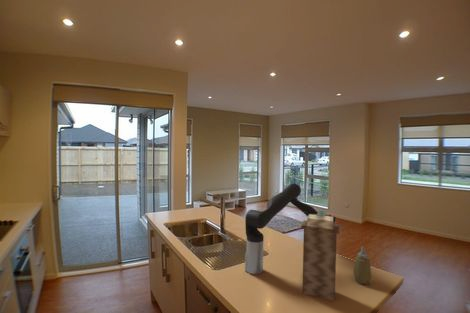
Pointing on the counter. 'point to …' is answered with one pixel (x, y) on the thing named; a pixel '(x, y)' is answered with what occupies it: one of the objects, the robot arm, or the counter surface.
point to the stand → (319, 261)
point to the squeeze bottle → (362, 268)
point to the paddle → (320, 220)
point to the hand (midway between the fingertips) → (321, 215)
